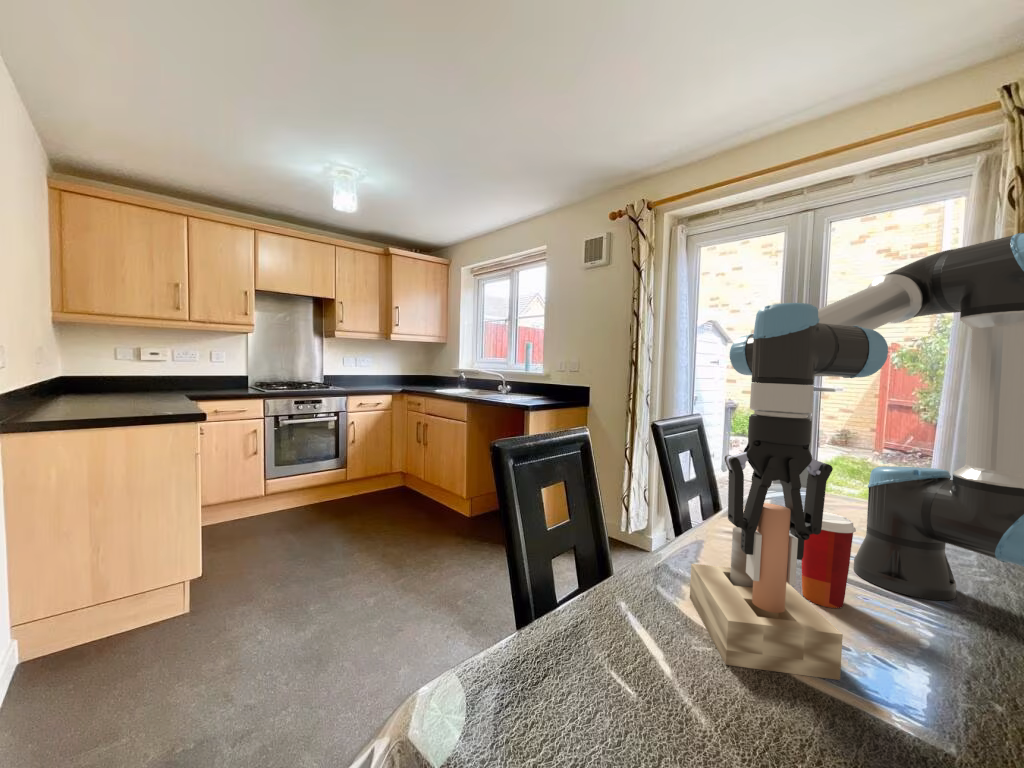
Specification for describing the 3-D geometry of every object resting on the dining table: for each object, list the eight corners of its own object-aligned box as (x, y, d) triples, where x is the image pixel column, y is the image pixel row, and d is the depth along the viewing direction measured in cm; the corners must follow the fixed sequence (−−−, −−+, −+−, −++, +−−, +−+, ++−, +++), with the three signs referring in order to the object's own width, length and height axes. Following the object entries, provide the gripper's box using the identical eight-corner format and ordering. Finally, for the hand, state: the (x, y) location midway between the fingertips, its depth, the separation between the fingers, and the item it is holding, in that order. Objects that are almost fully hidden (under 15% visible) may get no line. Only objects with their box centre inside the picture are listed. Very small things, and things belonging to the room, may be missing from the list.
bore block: (775, 607, 73) (779, 526, 73) (840, 680, 55) (846, 573, 55) (689, 597, 75) (693, 518, 75) (725, 664, 57) (731, 561, 57)
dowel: (790, 614, 58) (796, 513, 58) (759, 610, 59) (765, 510, 59) (776, 599, 62) (782, 504, 62) (747, 596, 63) (753, 502, 63)
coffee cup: (840, 593, 79) (845, 513, 79) (860, 616, 71) (865, 527, 71) (788, 584, 82) (792, 507, 82) (802, 605, 74) (806, 519, 74)
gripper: (829, 416, 63) (819, 573, 63) (708, 409, 65) (699, 560, 65) (864, 420, 55) (852, 599, 56) (725, 412, 58) (715, 583, 58)
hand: (769, 578), depth 61 cm, fingers closed on dowel, 4 cm apart
